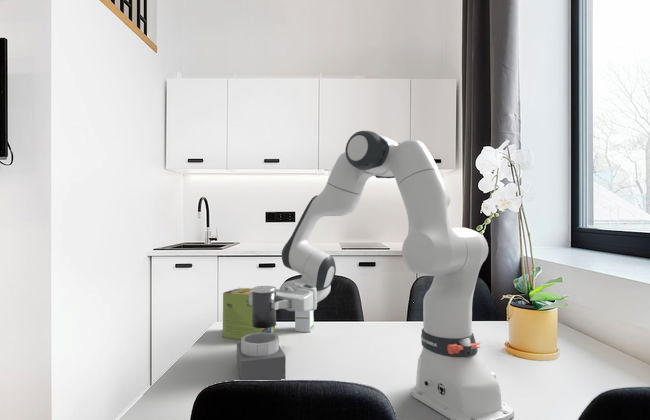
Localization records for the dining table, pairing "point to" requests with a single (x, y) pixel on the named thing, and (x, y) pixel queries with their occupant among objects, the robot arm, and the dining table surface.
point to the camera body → (260, 357)
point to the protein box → (239, 315)
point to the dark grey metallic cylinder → (263, 307)
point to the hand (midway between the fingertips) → (261, 304)
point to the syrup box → (304, 321)
